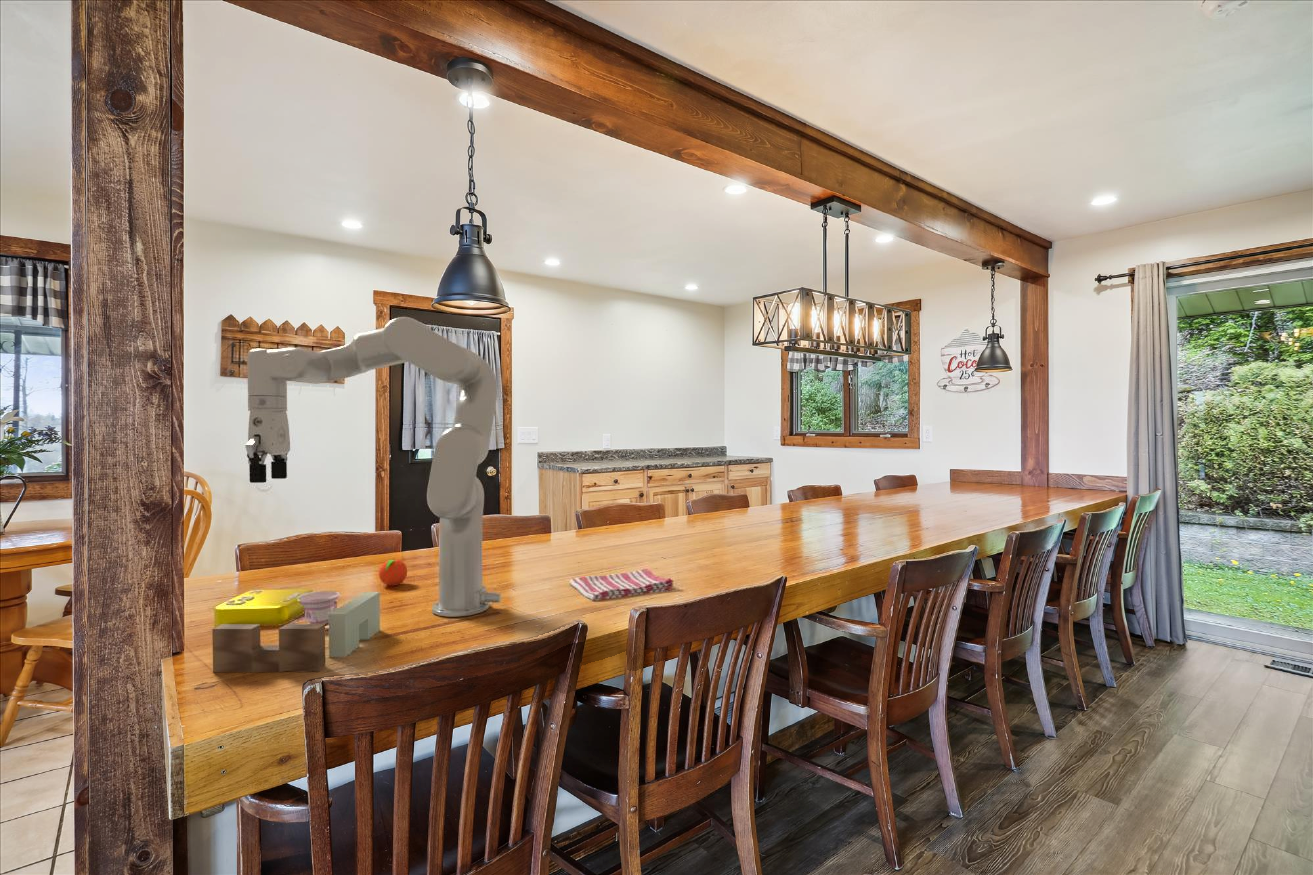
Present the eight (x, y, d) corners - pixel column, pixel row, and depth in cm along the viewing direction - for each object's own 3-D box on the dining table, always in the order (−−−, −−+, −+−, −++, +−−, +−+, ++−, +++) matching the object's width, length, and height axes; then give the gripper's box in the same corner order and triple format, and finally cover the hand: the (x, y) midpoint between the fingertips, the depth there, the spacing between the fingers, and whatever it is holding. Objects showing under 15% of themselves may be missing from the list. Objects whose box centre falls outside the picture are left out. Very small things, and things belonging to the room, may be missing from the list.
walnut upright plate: (325, 666, 112) (325, 624, 111) (318, 671, 109) (317, 628, 109) (222, 666, 111) (221, 624, 111) (212, 672, 109) (212, 628, 109)
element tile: (284, 627, 134) (284, 604, 134) (209, 629, 133) (209, 606, 133) (316, 606, 149) (316, 586, 149) (249, 608, 148) (249, 587, 148)
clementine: (399, 589, 162) (399, 562, 162) (372, 589, 162) (372, 562, 162) (411, 582, 170) (411, 555, 170) (385, 582, 170) (385, 555, 170)
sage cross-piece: (379, 630, 131) (379, 591, 131) (345, 657, 116) (345, 613, 116) (365, 630, 131) (364, 591, 131) (329, 657, 116) (328, 614, 116)
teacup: (274, 629, 132) (273, 600, 132) (322, 613, 143) (322, 586, 143) (317, 636, 128) (317, 605, 128) (363, 619, 139) (363, 591, 139)
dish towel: (675, 591, 163) (675, 578, 163) (591, 603, 152) (591, 589, 152) (645, 577, 178) (645, 565, 178) (567, 587, 167) (567, 574, 167)
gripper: (266, 403, 134) (268, 484, 135) (302, 405, 151) (303, 477, 152) (228, 403, 133) (230, 484, 134) (268, 405, 151) (269, 477, 151)
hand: (268, 480), depth 143 cm, fingers open, 9 cm apart
